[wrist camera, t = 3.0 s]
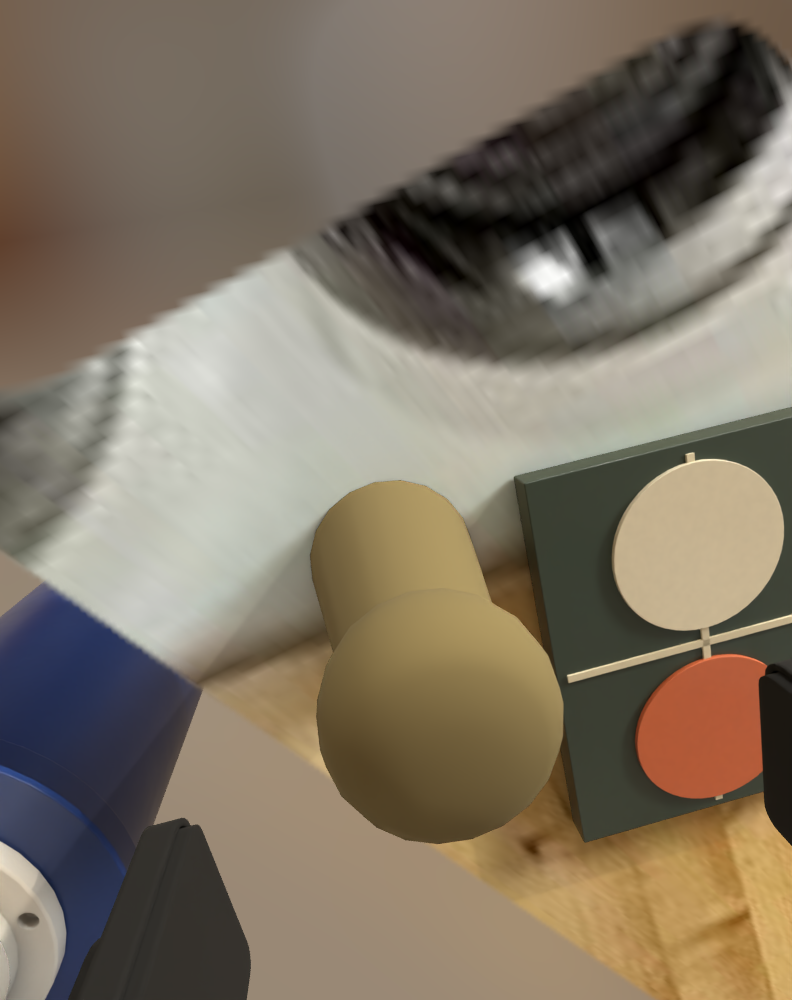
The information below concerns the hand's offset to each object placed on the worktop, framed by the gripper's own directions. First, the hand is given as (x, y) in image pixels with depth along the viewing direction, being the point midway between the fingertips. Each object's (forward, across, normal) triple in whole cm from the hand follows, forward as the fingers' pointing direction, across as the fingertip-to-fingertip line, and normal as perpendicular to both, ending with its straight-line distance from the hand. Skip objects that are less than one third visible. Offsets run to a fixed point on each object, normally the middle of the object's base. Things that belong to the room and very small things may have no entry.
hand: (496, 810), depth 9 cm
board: (+12, -10, +6) cm, 17 cm away
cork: (+13, +1, 0) cm, 13 cm away
